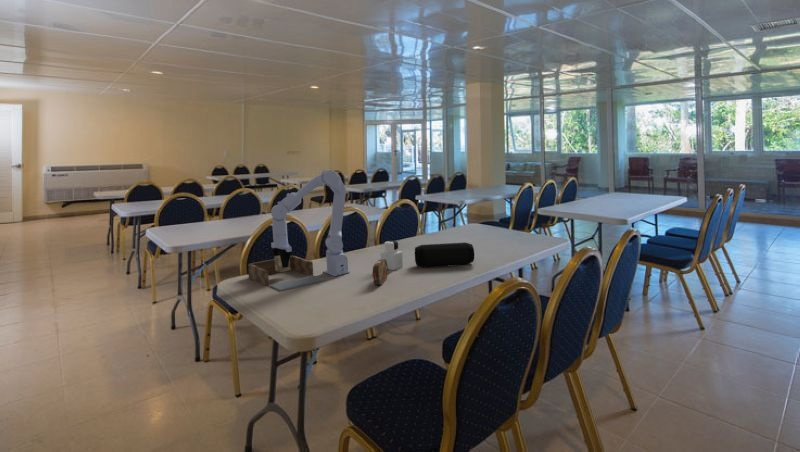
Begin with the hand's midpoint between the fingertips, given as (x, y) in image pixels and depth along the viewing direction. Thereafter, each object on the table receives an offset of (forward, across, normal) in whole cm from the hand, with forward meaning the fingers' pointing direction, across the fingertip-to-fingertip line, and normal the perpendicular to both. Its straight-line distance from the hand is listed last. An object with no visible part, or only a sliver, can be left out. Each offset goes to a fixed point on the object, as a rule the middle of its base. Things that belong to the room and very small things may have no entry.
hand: (282, 266), depth 182 cm
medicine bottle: (+5, +21, +42) cm, 47 cm away
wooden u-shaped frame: (+5, -2, 0) cm, 5 cm away
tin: (+5, +34, +25) cm, 42 cm away
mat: (+5, +12, 0) cm, 13 cm away
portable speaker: (+6, +35, +61) cm, 70 cm away
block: (+2, 0, 0) cm, 2 cm away
